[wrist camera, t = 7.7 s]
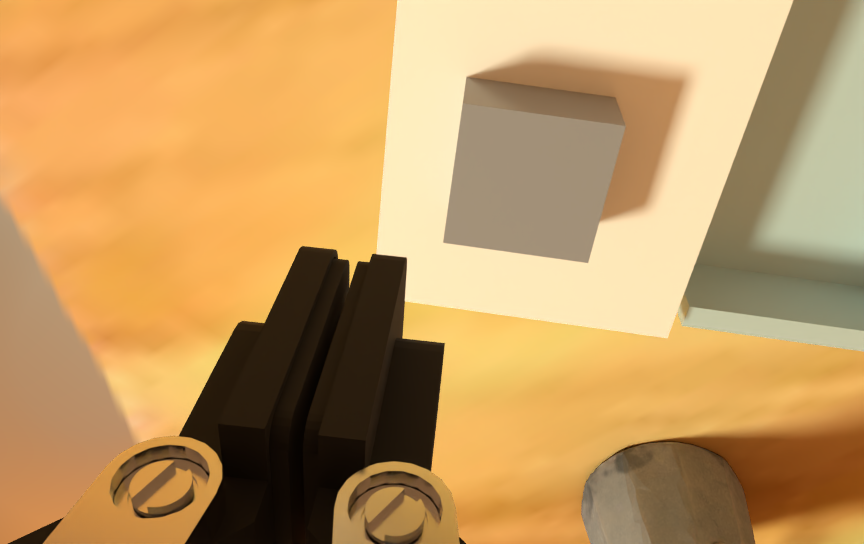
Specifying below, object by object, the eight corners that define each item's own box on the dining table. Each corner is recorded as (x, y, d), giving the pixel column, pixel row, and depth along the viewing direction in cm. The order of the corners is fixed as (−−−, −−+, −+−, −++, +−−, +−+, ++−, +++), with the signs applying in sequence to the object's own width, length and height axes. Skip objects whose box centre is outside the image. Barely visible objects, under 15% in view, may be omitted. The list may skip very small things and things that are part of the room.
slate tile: (466, 76, 24) (462, 103, 22) (615, 97, 24) (626, 126, 22) (447, 208, 27) (443, 242, 25) (581, 226, 27) (587, 263, 25)
